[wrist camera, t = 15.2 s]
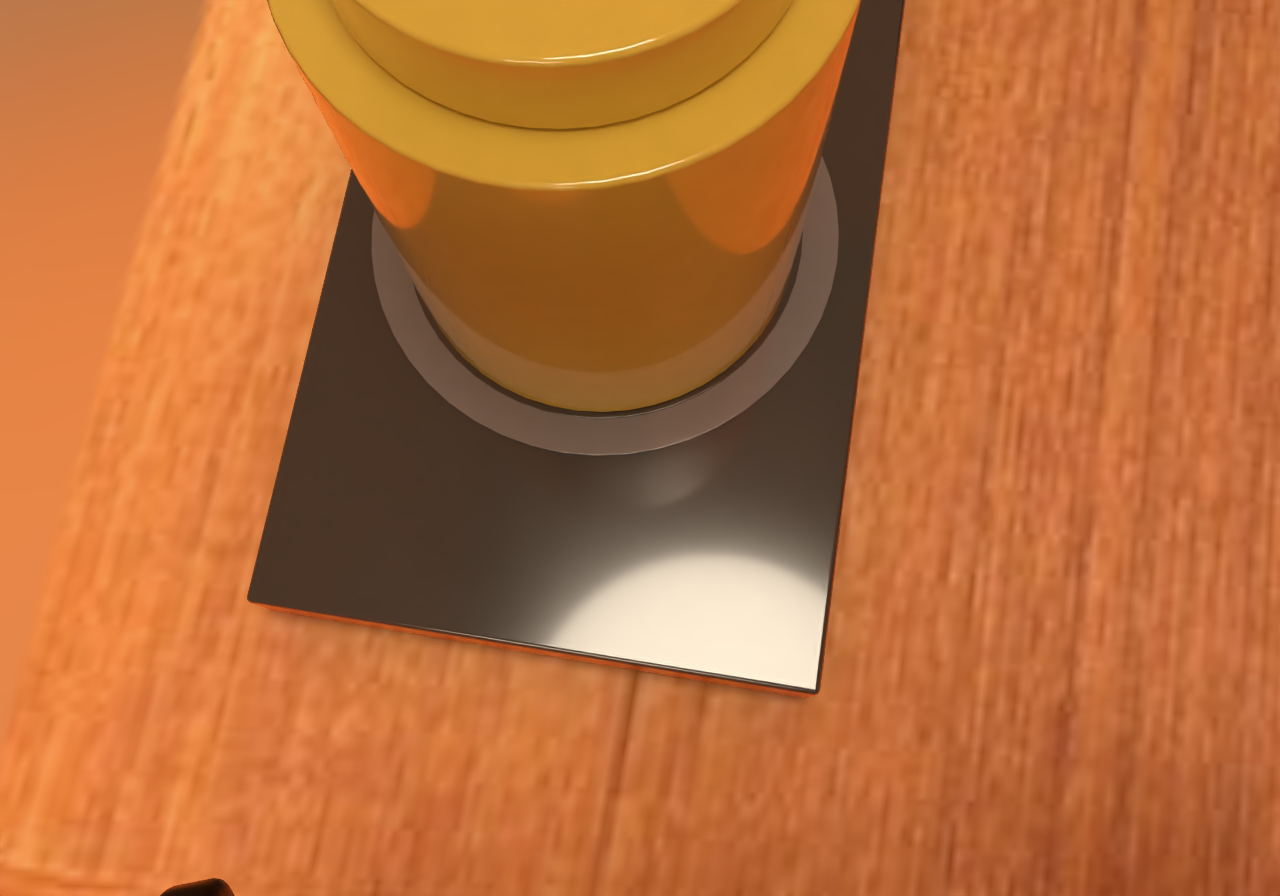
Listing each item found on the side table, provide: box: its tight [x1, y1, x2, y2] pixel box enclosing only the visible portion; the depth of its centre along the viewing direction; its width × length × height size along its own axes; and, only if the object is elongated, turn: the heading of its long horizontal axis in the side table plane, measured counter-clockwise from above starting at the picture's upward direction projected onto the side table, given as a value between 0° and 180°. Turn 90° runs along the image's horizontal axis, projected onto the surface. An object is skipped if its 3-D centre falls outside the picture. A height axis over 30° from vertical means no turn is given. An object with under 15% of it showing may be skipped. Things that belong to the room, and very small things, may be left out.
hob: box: [247, 0, 905, 698], centre depth 20 cm, size 14×9×1 cm, turn 171°
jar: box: [267, 0, 862, 412], centre depth 15 cm, size 6×6×9 cm
